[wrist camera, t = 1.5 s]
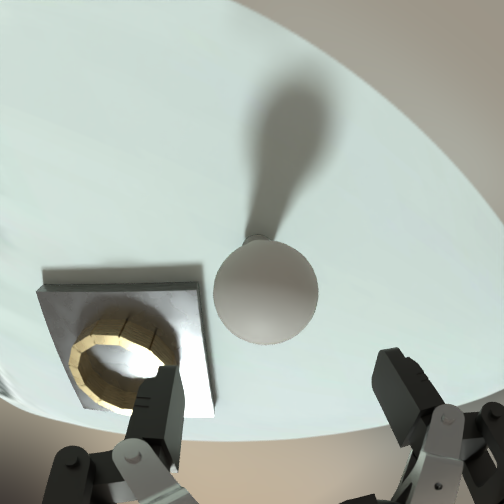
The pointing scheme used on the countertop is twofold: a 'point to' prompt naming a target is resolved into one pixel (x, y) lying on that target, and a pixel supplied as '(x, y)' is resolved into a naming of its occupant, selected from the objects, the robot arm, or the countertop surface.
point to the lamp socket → (128, 340)
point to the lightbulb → (265, 291)
